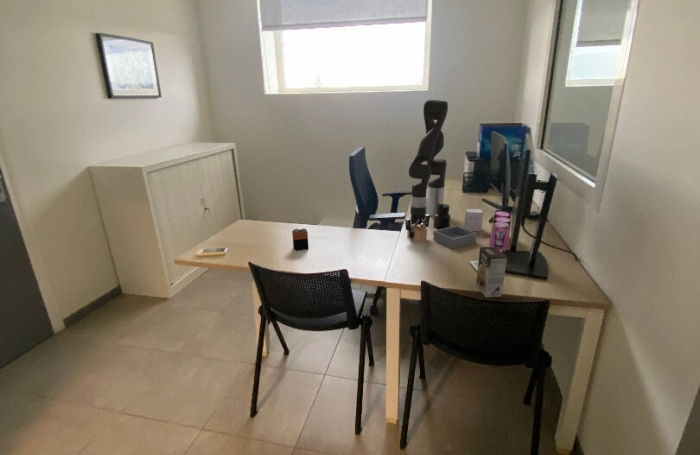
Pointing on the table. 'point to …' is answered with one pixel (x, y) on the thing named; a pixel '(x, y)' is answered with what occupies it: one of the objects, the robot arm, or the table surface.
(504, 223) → the gum box
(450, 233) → the crate
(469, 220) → the small box
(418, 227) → the box
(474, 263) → the touchpad
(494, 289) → the coffee box
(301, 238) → the battery
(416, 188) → the robot arm
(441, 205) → the ink bottle
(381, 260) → the table surface
